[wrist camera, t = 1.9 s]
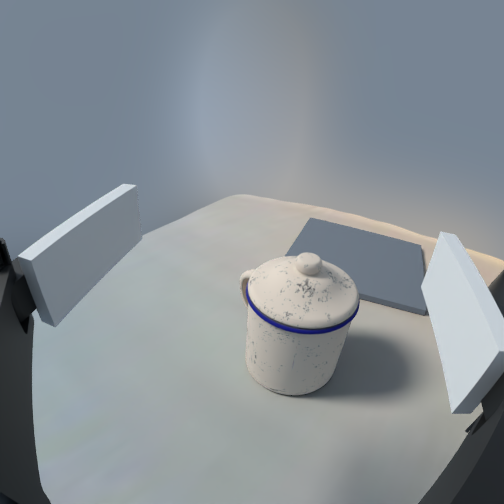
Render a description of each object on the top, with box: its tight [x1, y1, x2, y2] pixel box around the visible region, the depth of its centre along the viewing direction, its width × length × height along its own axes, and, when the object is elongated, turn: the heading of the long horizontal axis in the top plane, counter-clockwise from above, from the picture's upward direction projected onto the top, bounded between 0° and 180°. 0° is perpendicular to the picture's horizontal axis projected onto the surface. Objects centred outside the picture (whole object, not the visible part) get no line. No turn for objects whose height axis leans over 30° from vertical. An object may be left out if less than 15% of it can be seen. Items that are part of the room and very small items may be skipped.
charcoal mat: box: [285, 218, 426, 315], centre depth 45 cm, size 20×18×1 cm
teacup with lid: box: [240, 252, 360, 395], centre depth 28 cm, size 12×9×12 cm
